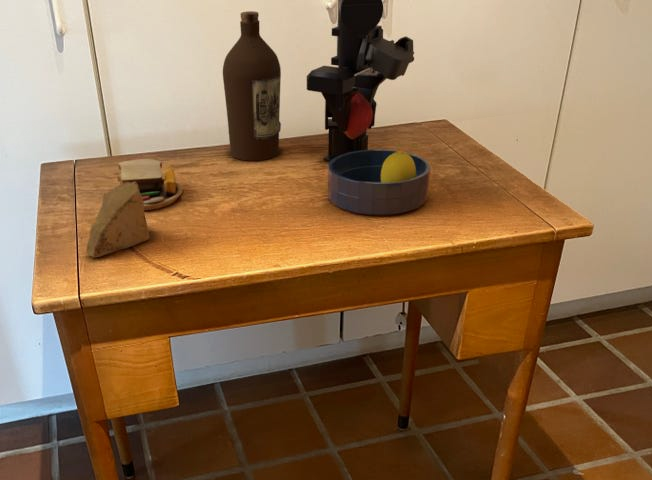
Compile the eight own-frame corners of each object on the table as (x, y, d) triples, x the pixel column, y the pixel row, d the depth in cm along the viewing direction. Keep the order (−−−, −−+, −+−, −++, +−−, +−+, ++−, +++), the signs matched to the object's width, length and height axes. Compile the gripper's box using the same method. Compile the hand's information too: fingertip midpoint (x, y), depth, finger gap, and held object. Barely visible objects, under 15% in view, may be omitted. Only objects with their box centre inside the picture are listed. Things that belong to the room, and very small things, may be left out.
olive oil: (216, 154, 143) (206, 14, 129) (255, 141, 149) (250, 5, 135) (254, 166, 136) (248, 20, 122) (293, 152, 142) (292, 11, 128)
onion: (374, 134, 119) (377, 83, 115) (366, 145, 115) (369, 93, 110) (339, 132, 121) (341, 81, 116) (330, 143, 116) (331, 91, 112)
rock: (84, 254, 102) (154, 235, 103) (67, 196, 103) (136, 177, 104) (93, 268, 113) (156, 250, 114) (77, 215, 113) (140, 198, 114)
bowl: (309, 204, 120) (309, 171, 117) (358, 174, 131) (359, 143, 128) (398, 225, 112) (401, 191, 109) (443, 191, 123) (446, 159, 120)
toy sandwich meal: (104, 214, 120) (100, 186, 117) (114, 184, 131) (110, 158, 128) (181, 210, 120) (178, 182, 117) (184, 181, 131) (182, 155, 129)
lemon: (413, 206, 117) (417, 156, 112) (378, 204, 118) (381, 155, 113) (414, 193, 121) (418, 145, 117) (380, 191, 122) (383, 144, 118)
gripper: (374, 36, 98) (368, 151, 107) (435, 13, 110) (425, 118, 119) (304, 29, 103) (304, 139, 112) (369, 8, 115) (365, 108, 124)
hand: (353, 126), depth 117 cm, fingers closed on onion, 6 cm apart
